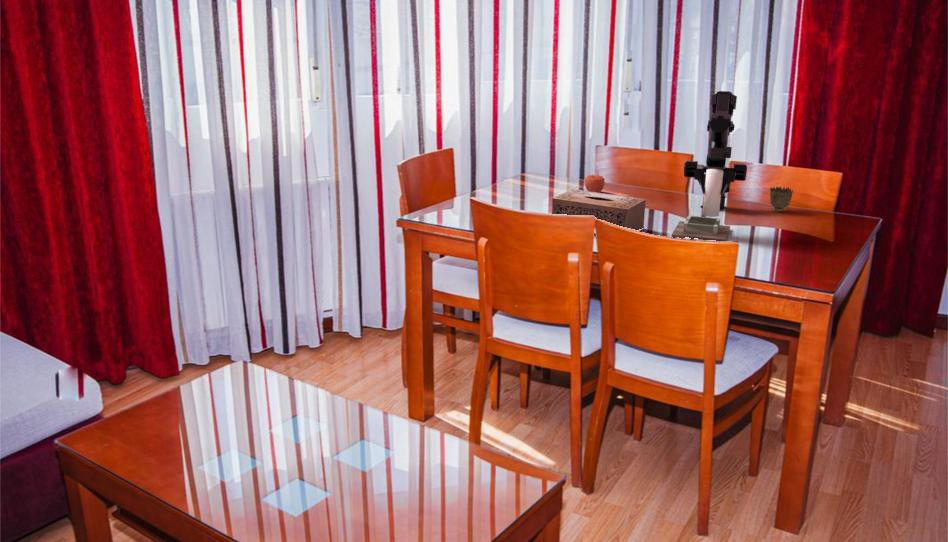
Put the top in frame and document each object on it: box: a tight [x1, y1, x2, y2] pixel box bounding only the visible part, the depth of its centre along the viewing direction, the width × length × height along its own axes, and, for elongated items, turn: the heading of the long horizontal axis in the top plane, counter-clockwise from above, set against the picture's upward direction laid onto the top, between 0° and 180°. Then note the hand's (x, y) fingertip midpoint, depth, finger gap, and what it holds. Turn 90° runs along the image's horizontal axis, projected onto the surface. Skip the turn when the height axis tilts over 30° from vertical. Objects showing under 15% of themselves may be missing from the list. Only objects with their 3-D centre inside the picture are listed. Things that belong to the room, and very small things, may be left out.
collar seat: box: [671, 214, 731, 241], centre depth 264 cm, size 16×16×4 cm
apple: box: [584, 173, 606, 193], centre depth 314 cm, size 7×7×8 cm
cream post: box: [702, 169, 723, 218], centre depth 260 cm, size 5×5×14 cm
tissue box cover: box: [551, 188, 646, 230], centre depth 270 cm, size 26×14×10 cm, turn 58°
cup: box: [769, 186, 794, 213], centre depth 290 cm, size 8×7×8 cm
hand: (712, 193), depth 259 cm, fingers closed on cream post, 5 cm apart
